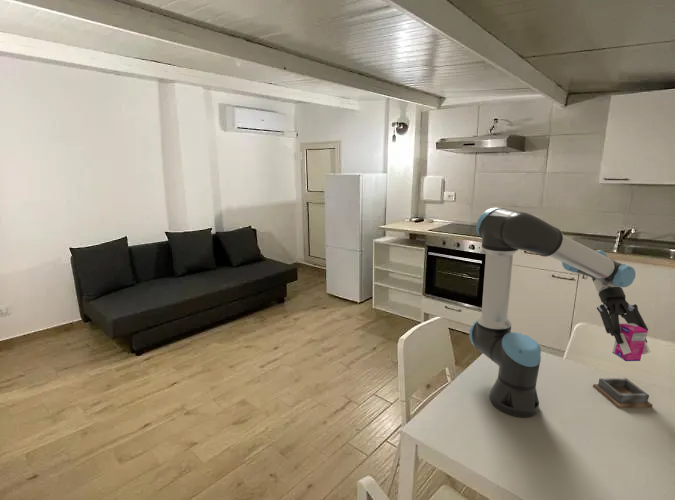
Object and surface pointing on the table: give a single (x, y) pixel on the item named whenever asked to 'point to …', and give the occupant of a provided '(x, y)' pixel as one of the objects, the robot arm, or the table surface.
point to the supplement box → (631, 342)
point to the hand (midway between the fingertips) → (636, 353)
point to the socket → (623, 393)
